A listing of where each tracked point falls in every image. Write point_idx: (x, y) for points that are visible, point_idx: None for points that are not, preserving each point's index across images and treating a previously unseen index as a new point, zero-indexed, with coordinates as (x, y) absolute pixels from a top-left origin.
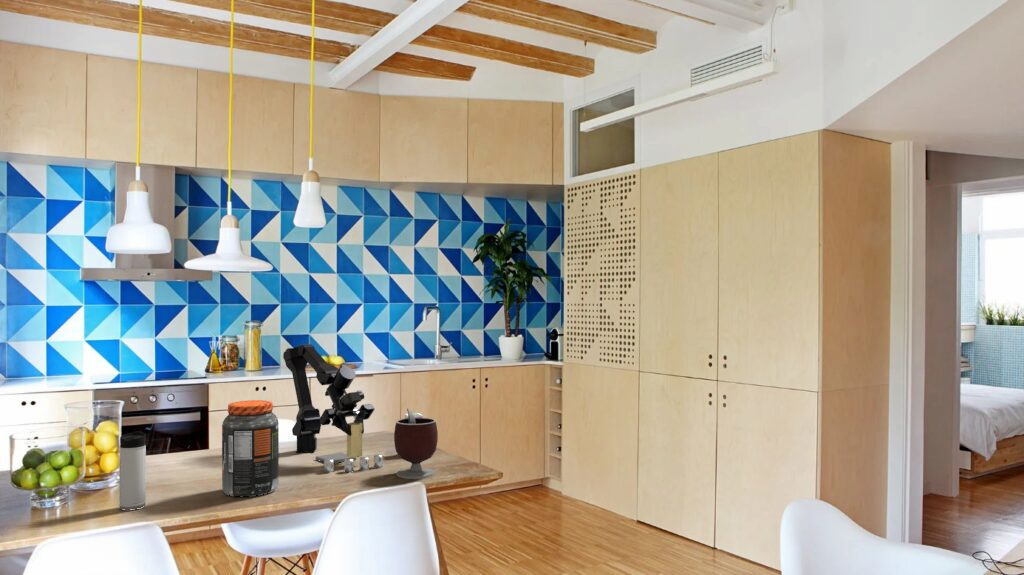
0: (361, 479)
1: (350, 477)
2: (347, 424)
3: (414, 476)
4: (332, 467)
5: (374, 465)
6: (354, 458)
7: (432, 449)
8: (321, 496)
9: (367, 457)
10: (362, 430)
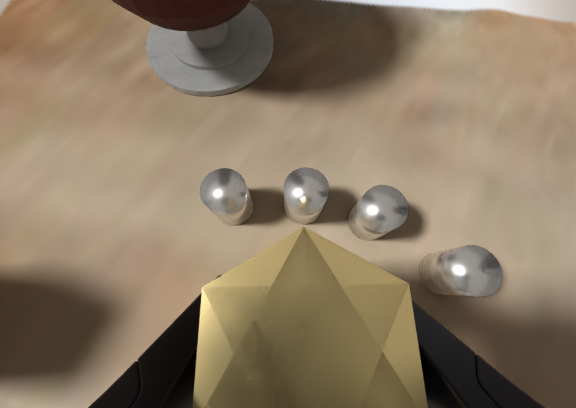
0: (383, 97)
1: (402, 141)
2: (444, 364)
3: (250, 7)
4: (442, 251)
5: (251, 204)
6: None
7: None
8: (556, 24)
9: (292, 181)
10: None
